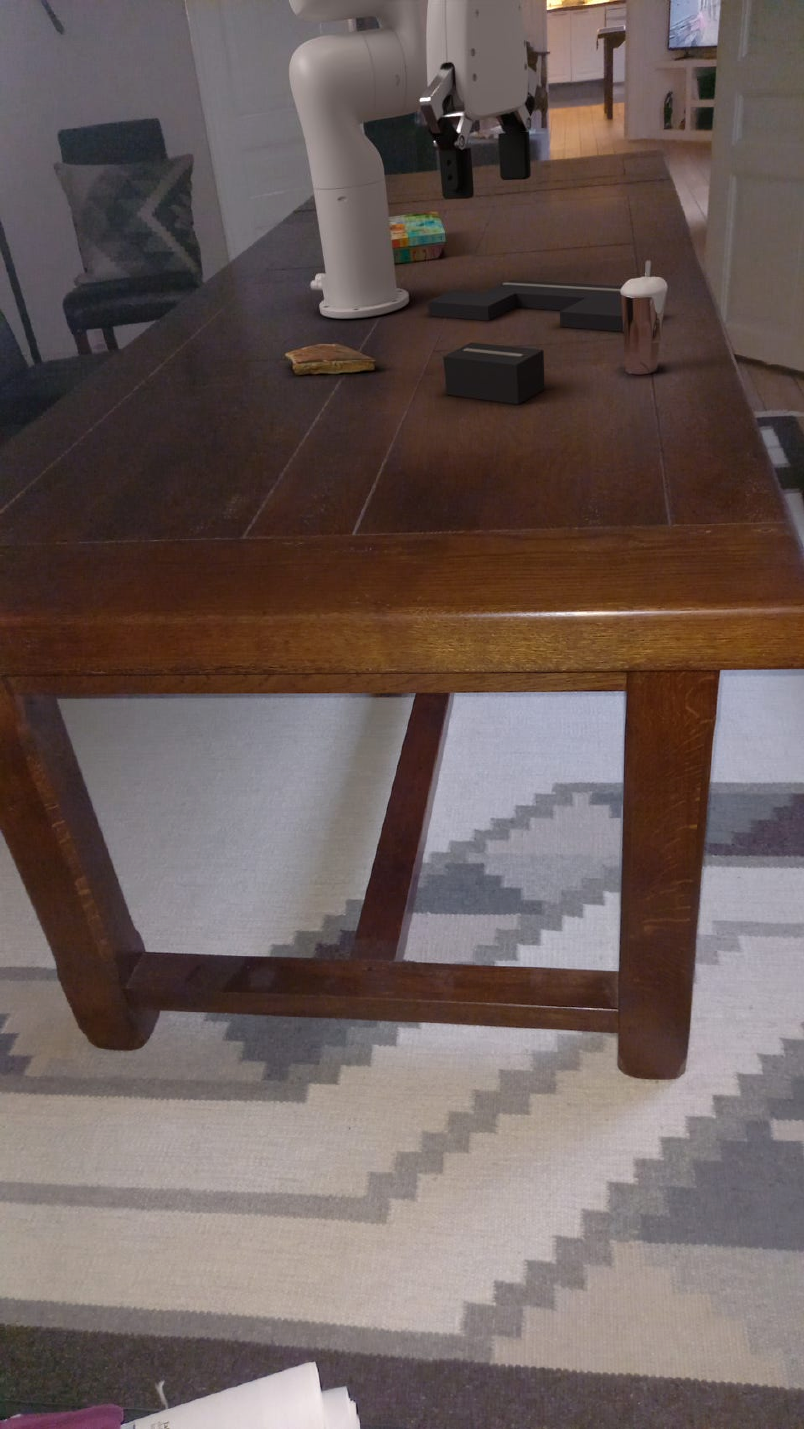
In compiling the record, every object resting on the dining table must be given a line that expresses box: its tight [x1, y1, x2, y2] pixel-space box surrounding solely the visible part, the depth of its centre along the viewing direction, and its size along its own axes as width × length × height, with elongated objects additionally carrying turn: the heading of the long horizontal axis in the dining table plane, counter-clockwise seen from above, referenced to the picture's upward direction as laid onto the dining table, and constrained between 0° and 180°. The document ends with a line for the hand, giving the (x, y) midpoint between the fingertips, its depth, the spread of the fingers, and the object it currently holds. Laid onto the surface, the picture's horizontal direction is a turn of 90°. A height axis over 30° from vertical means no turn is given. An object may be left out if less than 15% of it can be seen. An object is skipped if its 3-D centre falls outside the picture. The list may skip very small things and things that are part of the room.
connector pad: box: [443, 342, 546, 405], centre depth 101 cm, size 9×5×4 cm, turn 52°
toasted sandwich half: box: [285, 342, 377, 376], centre depth 115 cm, size 11×8×2 cm
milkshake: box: [620, 260, 668, 376], centre depth 100 cm, size 4×5×10 cm
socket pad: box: [427, 279, 623, 333], centre depth 125 cm, size 30×12×2 cm, turn 52°
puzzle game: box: [389, 211, 447, 265], centre depth 165 cm, size 12×5×20 cm
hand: (487, 188), depth 94 cm, fingers open, 9 cm apart
